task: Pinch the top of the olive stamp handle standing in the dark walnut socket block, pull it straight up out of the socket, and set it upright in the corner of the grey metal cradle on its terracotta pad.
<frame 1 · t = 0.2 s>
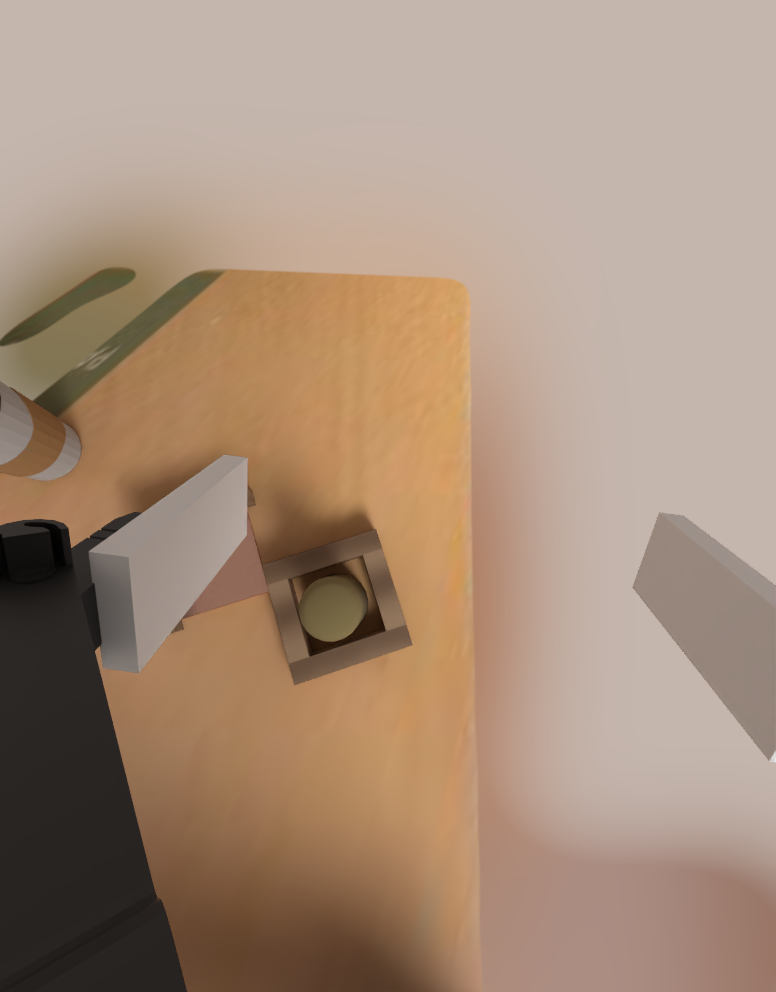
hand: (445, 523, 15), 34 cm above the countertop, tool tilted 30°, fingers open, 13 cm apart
socket block: (338, 603, 48), on the countertop
coffee cup: (53, 452, 50), on the countertop
corner cradle: (212, 560, 48), on the countertop
olive stamp handle: (338, 603, 48), resting in socket block
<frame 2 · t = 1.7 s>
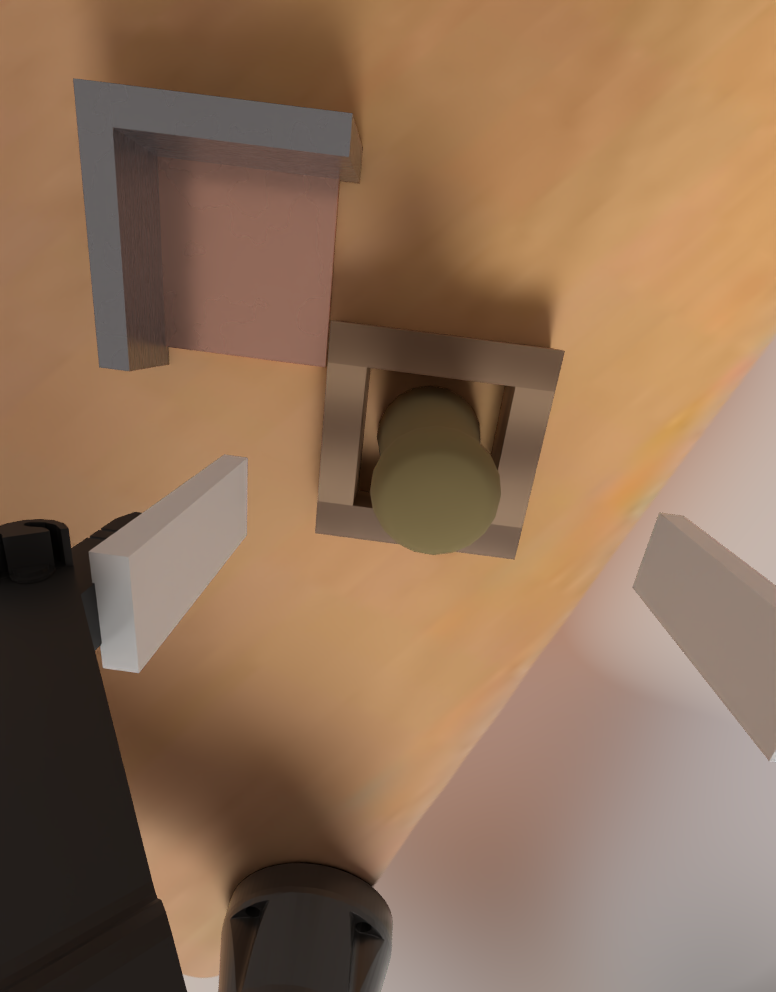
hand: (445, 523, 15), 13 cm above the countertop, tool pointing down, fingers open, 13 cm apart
socket block: (428, 438, 28), on the countertop
corner cradle: (244, 264, 25), on the countertop
olive stamp handle: (428, 437, 28), resting in socket block
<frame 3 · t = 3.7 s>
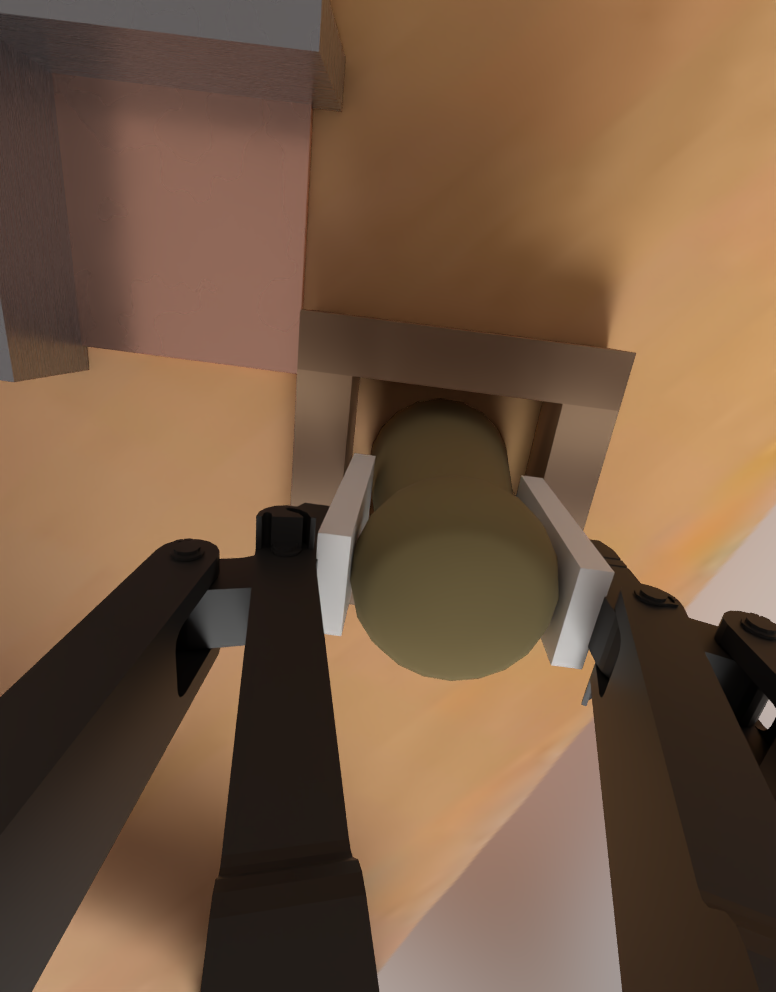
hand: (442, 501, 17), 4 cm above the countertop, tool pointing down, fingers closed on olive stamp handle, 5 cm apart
socket block: (437, 468, 21), on the countertop
corner cradle: (183, 231, 18), on the countertop
olive stamp handle: (437, 466, 21), resting in socket block, touching gripper
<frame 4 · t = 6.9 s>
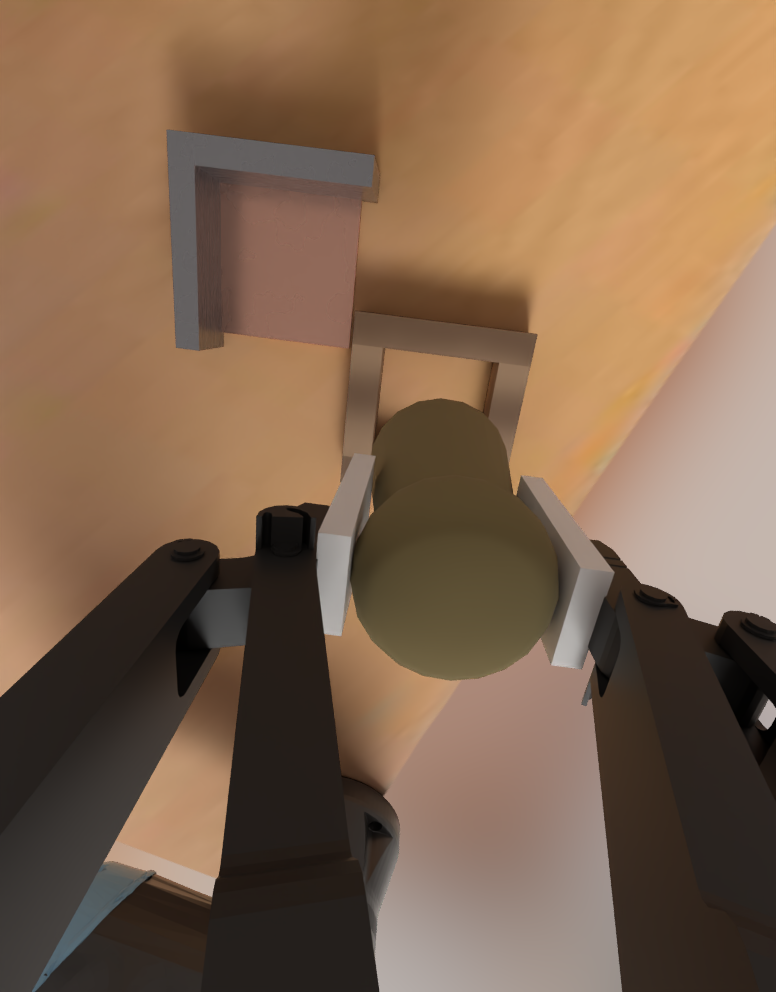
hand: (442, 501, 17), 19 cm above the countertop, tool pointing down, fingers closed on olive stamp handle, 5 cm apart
socket block: (431, 406, 34), on the countertop
corner cradle: (286, 266, 32), on the countertop
olive stamp handle: (437, 466, 21), point 14 cm above the countertop, touching gripper
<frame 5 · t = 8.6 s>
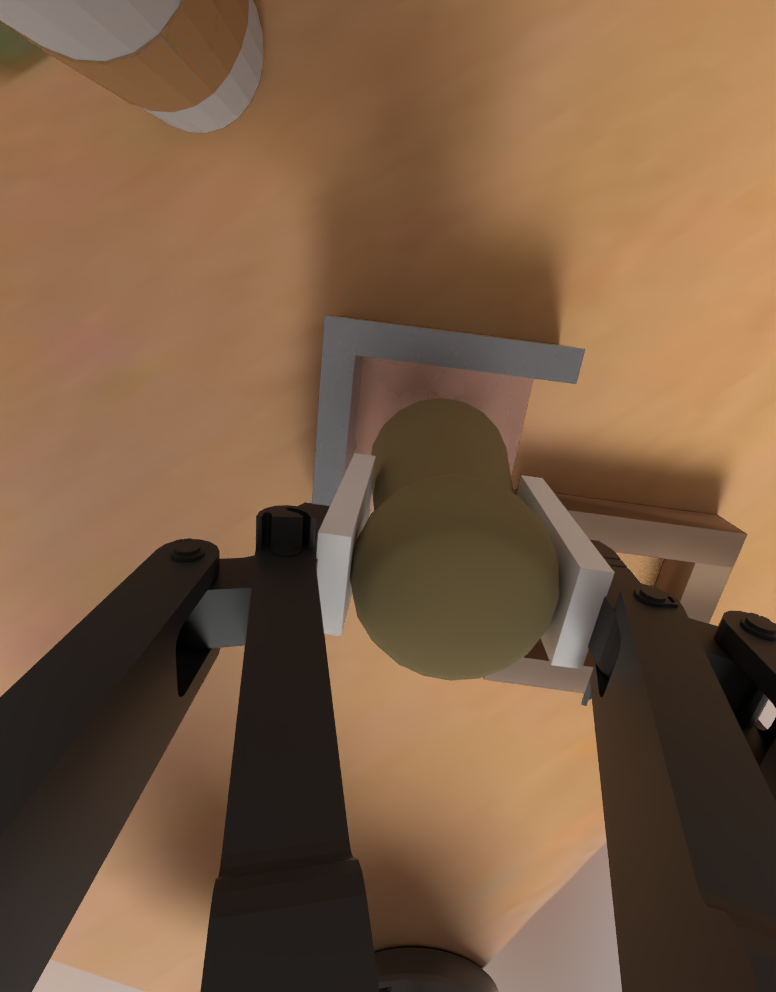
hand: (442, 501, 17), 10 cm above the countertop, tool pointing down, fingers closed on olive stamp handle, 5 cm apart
socket block: (589, 588, 29), on the countertop
coffee cup: (199, 54, 21), on the countertop
corner cradle: (432, 439, 26), on the countertop
olive stamp handle: (437, 466, 21), point 6 cm above the countertop, touching gripper
when the fingers open (6 cm above the countertop, at t = 10.2 s): olive stamp handle drops 1 cm, resting on corner cradle.
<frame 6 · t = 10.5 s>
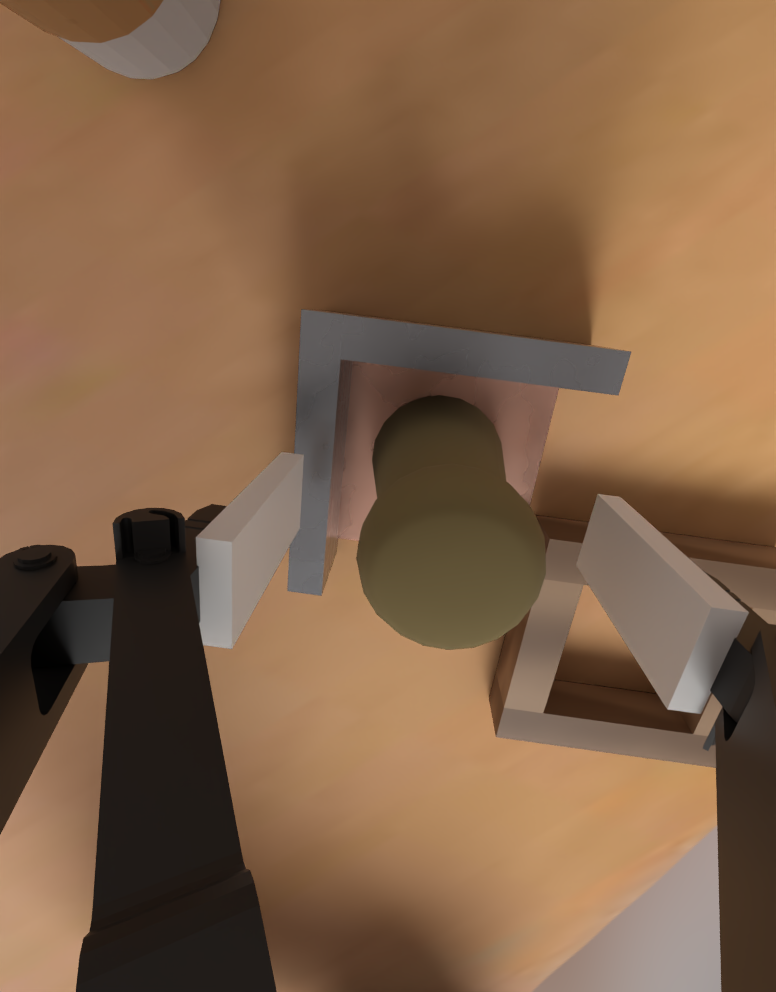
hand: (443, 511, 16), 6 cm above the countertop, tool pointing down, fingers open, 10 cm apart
socket block: (619, 629, 25), on the countertop
corner cradle: (436, 457, 22), on the countertop
olive stamp handle: (436, 459, 22), resting on corner cradle
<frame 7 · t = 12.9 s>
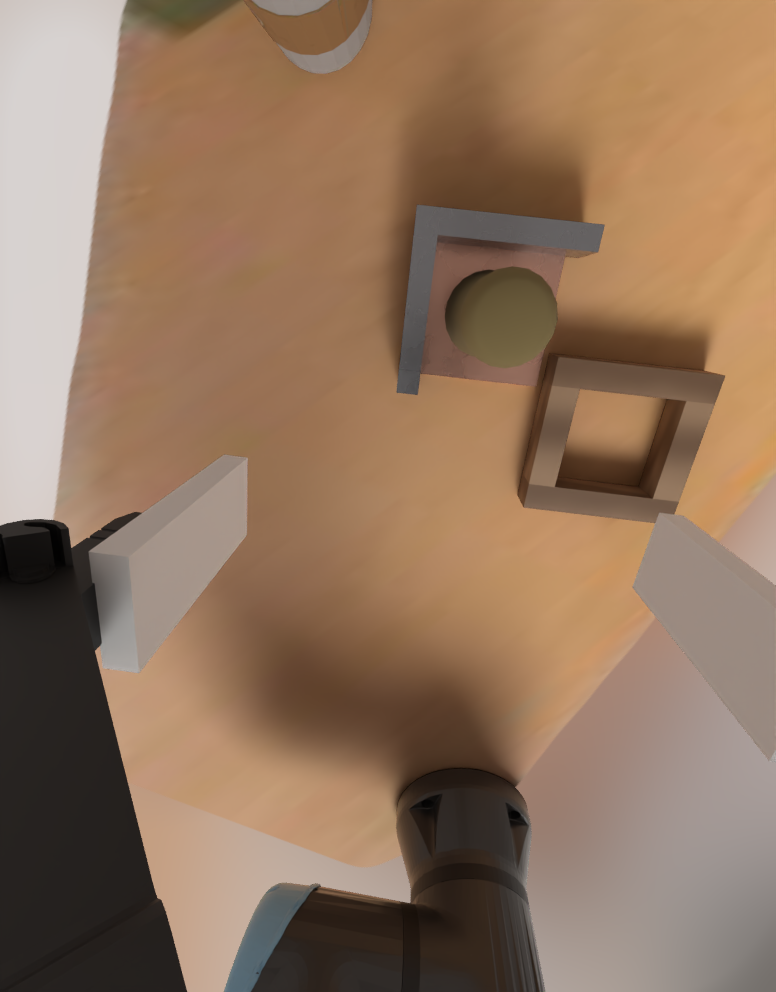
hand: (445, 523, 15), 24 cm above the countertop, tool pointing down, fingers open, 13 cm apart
socket block: (605, 436, 38), on the countertop
coffee cup: (322, 14, 29), on the countertop
corner cradle: (485, 314, 35), on the countertop
olive stamp handle: (485, 315, 35), resting on corner cradle
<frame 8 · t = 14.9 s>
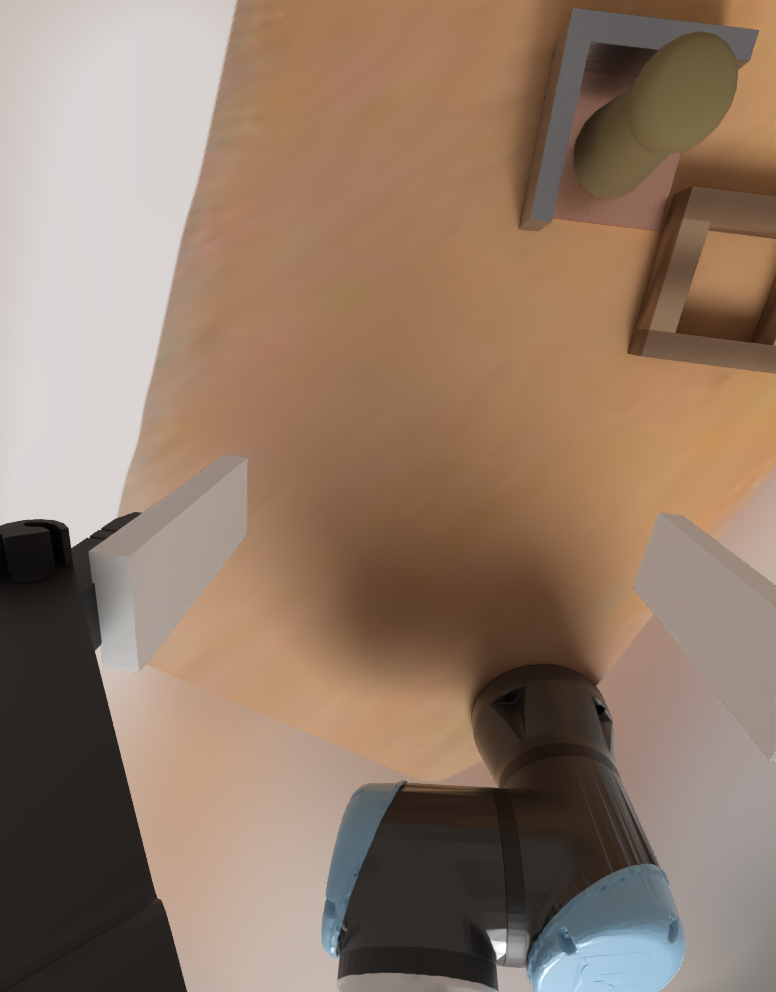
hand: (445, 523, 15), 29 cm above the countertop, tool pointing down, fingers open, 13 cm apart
socket block: (722, 287, 38), on the countertop
corner cradle: (614, 151, 35), on the countertop
olive stamp handle: (614, 152, 35), resting on corner cradle
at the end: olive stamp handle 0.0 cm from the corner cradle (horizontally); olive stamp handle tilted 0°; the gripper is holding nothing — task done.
